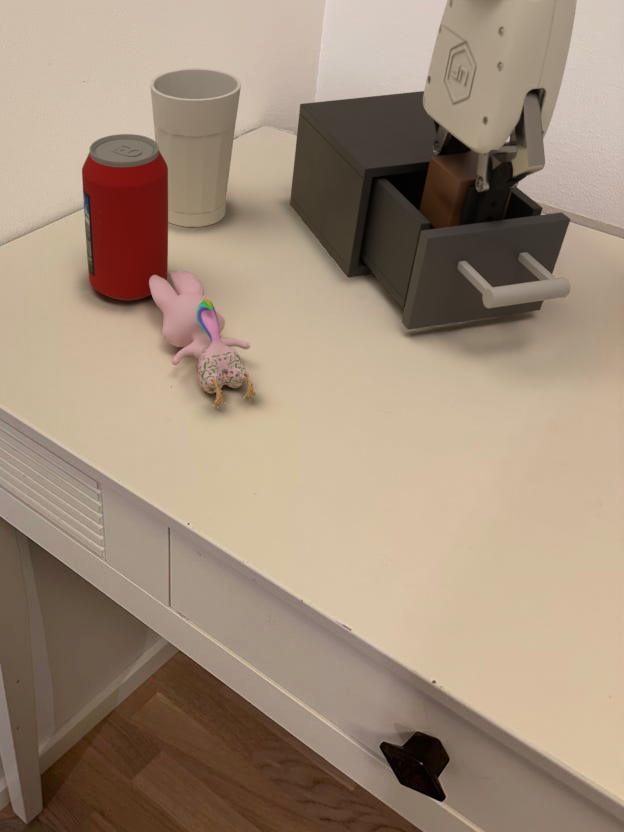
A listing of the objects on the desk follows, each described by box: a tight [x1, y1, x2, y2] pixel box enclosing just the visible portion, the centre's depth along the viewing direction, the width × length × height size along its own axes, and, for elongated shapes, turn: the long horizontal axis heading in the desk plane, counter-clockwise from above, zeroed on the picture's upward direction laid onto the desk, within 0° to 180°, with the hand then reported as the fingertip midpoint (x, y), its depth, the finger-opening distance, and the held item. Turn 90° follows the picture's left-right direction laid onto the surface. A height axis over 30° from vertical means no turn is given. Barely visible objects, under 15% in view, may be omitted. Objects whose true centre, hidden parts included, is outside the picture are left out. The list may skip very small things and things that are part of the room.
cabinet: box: [289, 90, 506, 277], centre depth 79 cm, size 15×13×10 cm
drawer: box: [359, 171, 571, 331], centre depth 70 cm, size 19×11×8 cm, turn 13°
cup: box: [149, 67, 242, 228], centre depth 82 cm, size 8×8×12 cm
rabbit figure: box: [149, 270, 257, 410], centre depth 67 cm, size 6×6×15 cm
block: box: [419, 152, 512, 229], centre depth 68 cm, size 5×5×5 cm
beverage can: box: [81, 133, 169, 302], centre depth 72 cm, size 7×7×12 cm
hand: (460, 218), depth 69 cm, fingers closed on block, 4 cm apart
